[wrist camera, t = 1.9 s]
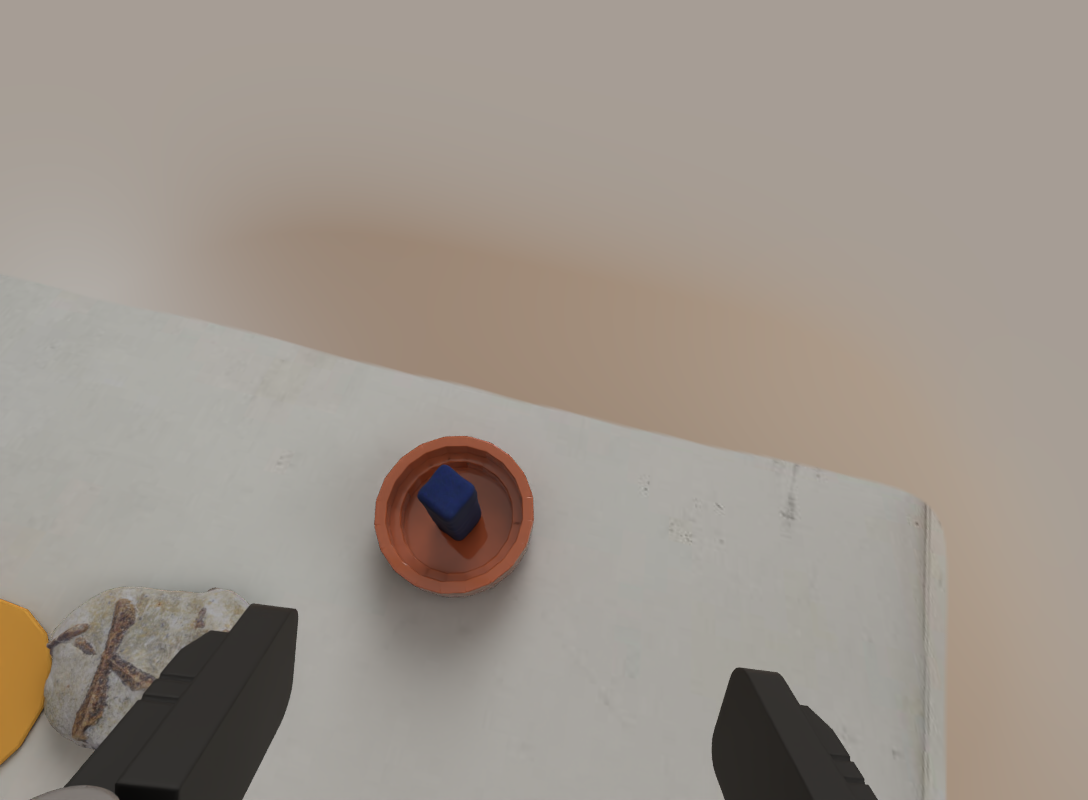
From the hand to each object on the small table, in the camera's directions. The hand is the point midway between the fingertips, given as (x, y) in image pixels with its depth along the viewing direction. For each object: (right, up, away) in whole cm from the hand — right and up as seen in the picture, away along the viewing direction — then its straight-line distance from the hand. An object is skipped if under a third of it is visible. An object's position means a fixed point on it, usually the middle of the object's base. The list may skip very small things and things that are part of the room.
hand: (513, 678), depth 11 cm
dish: (-4, -2, +23) cm, 23 cm away
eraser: (-4, -2, +22) cm, 23 cm away
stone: (-19, -8, +19) cm, 28 cm away
